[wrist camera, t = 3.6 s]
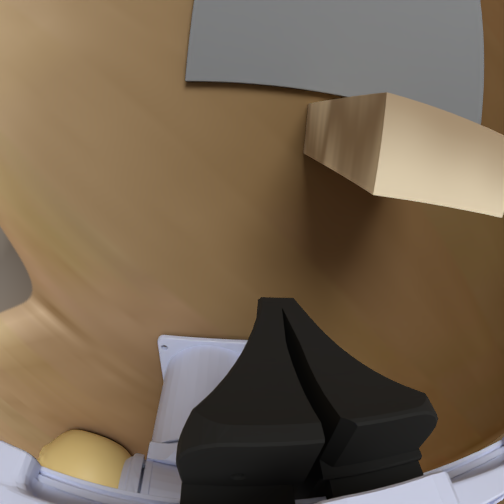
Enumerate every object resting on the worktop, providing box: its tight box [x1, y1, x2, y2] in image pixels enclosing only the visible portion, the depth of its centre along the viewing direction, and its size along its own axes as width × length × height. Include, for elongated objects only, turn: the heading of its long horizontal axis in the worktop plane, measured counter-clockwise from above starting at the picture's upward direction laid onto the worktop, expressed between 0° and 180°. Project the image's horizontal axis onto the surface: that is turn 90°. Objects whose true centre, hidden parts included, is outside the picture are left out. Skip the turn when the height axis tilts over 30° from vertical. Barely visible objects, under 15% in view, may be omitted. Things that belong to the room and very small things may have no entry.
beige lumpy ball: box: [37, 429, 131, 489], centre depth 25 cm, size 11×12×11 cm
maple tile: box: [303, 92, 504, 218], centre depth 12 cm, size 3×6×10 cm, turn 85°
